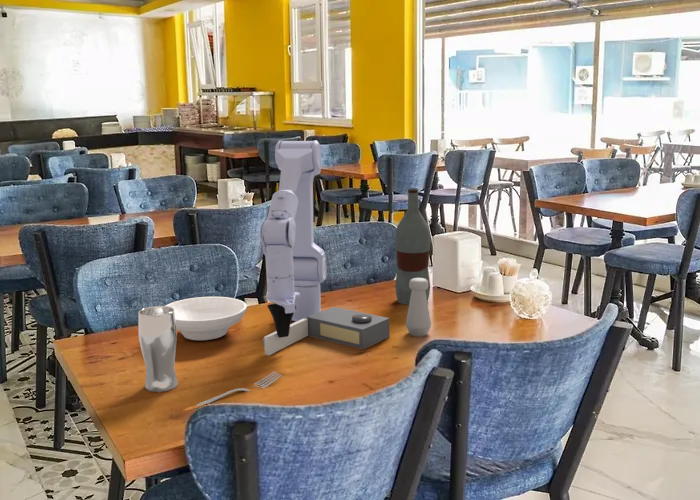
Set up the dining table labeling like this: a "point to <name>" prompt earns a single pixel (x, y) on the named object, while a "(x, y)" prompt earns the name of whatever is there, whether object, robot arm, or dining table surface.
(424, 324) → the salt shaker
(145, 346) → the beer glass
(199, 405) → the fork
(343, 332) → the camera housing
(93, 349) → the dining table surface
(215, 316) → the bowl
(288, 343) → the door
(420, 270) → the bottle
